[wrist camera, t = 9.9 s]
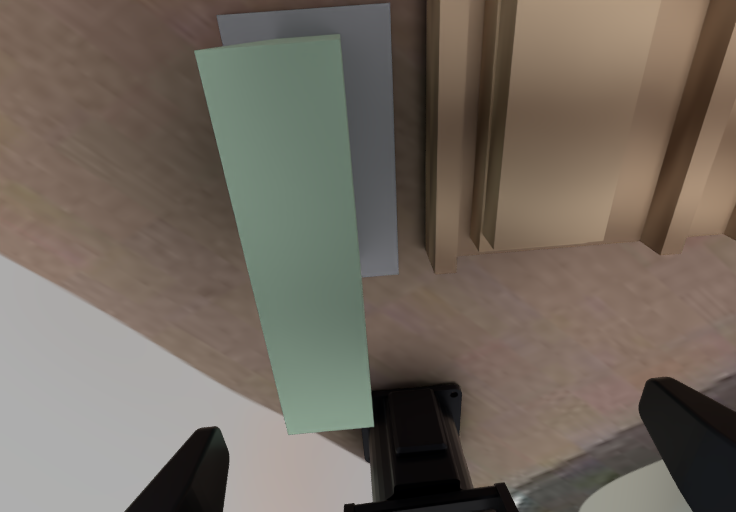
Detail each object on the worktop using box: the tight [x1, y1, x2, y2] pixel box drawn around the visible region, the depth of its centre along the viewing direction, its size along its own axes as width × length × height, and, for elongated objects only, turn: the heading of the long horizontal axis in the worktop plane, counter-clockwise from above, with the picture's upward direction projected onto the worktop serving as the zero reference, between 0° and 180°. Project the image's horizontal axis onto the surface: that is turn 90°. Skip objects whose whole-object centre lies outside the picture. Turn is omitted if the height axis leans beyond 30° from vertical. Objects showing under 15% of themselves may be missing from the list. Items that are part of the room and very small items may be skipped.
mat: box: [217, 3, 399, 277], centre depth 19 cm, size 12×6×1 cm, turn 3°
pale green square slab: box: [194, 34, 374, 435], centre depth 14 cm, size 10×2×10 cm, turn 4°
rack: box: [425, 0, 736, 275], centre depth 17 cm, size 12×16×2 cm
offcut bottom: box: [470, 0, 587, 252], centre depth 17 cm, size 10×5×2 cm, turn 3°
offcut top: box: [483, 0, 661, 250], centre depth 15 cm, size 9×5×2 cm, turn 3°
